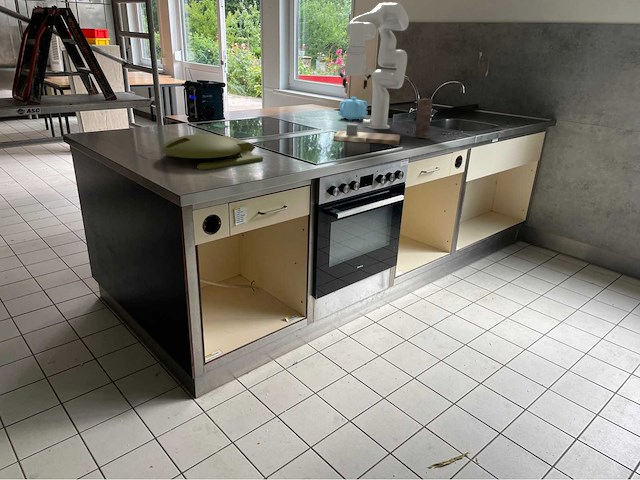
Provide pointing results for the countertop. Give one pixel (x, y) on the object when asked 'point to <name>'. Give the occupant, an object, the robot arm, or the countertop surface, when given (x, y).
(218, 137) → the spaceship
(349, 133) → the gray cube
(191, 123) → the countertop surface
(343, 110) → the decorative pot
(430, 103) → the brown wooden block
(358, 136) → the light wood flat board
